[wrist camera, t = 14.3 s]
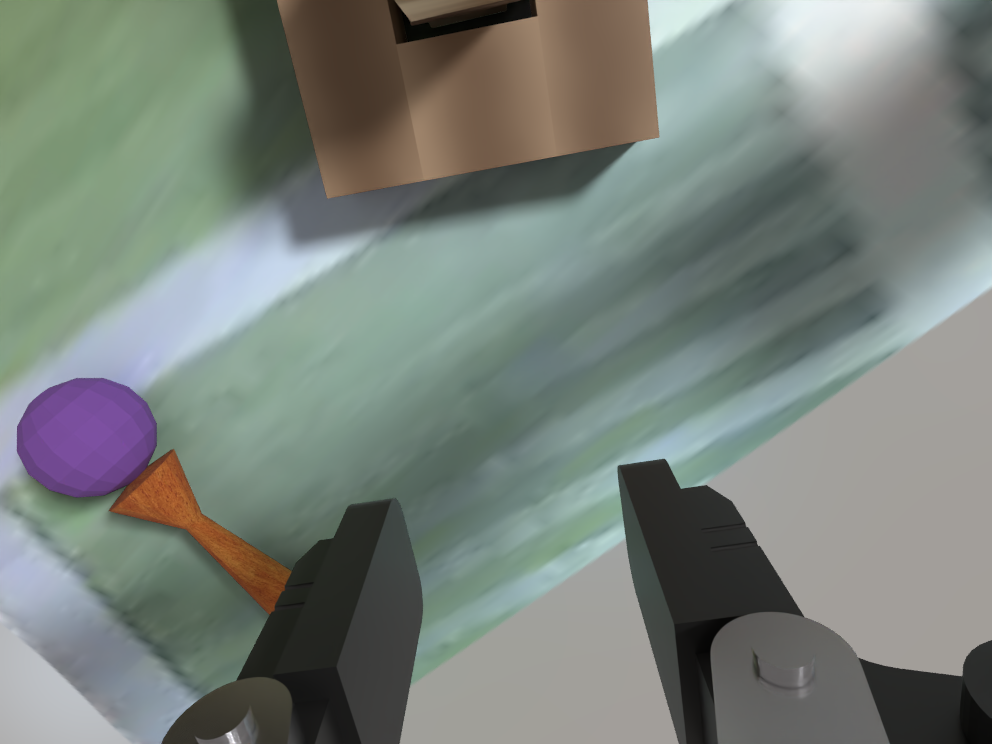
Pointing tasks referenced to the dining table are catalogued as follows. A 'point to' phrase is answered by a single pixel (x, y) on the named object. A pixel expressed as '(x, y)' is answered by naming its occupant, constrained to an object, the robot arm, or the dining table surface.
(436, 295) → the dining table surface
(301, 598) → the robot arm
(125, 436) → the kendama
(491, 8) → the beech leg
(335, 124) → the seat board
